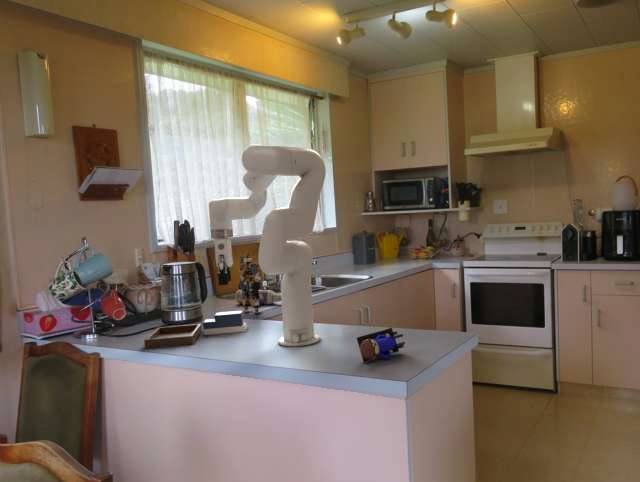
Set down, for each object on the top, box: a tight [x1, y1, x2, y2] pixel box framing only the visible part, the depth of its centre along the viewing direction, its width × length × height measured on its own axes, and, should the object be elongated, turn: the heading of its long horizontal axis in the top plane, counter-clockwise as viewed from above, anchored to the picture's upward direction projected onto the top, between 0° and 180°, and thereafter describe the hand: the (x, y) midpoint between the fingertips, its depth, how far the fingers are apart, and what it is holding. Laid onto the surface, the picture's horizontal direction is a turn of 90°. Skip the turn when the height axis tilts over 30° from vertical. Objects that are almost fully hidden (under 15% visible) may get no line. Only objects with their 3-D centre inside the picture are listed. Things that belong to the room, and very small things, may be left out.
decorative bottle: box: [234, 289, 281, 306], centre depth 245 cm, size 26×8×7 cm, turn 68°
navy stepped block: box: [202, 310, 247, 336], centre depth 190 cm, size 6×14×6 cm, turn 100°
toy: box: [237, 252, 263, 316], centre depth 222 cm, size 14×9×25 cm, turn 47°
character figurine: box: [356, 327, 406, 363], centre depth 144 cm, size 8×7×15 cm
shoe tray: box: [143, 323, 203, 350], centre depth 181 cm, size 20×15×3 cm
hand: (225, 283), depth 190 cm, fingers open, 9 cm apart
